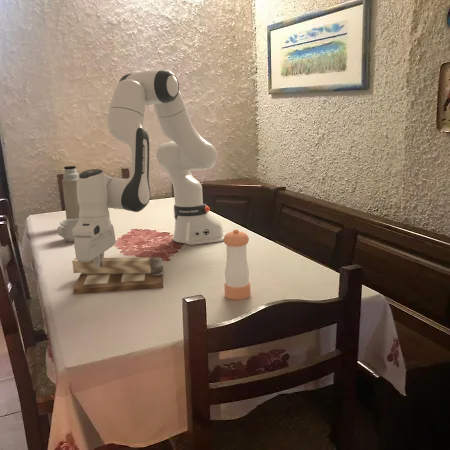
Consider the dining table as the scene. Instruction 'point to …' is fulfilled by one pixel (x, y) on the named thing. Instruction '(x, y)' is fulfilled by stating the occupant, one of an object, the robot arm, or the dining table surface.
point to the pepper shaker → (236, 266)
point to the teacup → (67, 229)
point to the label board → (117, 282)
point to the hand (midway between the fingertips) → (98, 267)
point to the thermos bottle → (71, 192)
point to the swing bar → (121, 265)
